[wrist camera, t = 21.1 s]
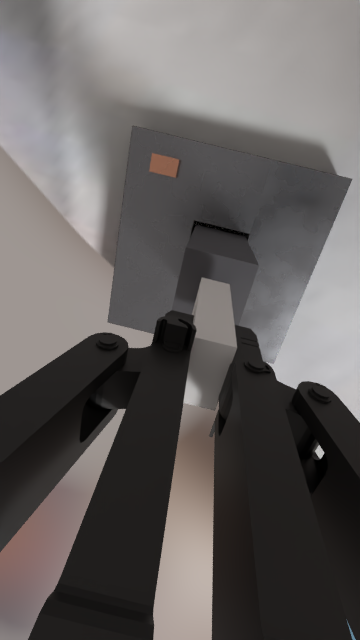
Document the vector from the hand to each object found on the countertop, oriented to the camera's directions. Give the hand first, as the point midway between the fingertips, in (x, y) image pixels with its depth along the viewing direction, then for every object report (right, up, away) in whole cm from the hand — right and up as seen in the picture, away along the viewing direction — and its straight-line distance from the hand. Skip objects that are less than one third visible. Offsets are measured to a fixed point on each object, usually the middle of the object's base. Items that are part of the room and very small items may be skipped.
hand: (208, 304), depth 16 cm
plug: (+1, +5, +11) cm, 12 cm away
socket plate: (+1, +5, +11) cm, 12 cm away
